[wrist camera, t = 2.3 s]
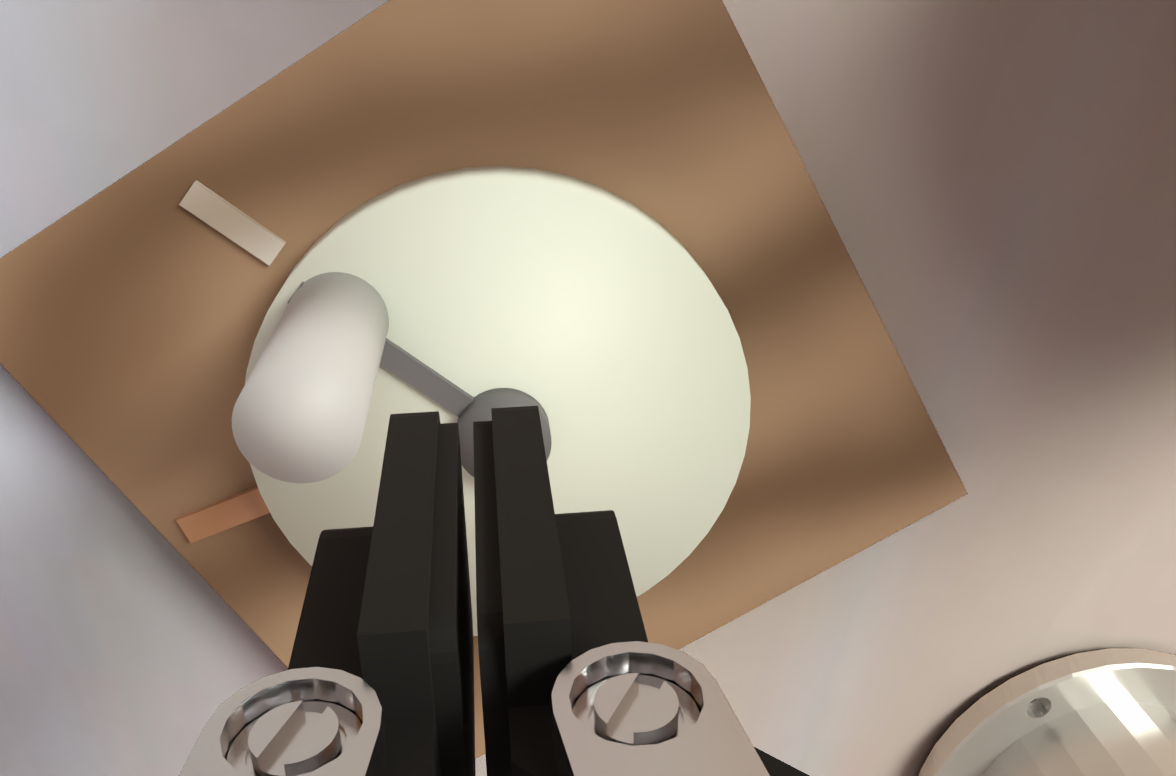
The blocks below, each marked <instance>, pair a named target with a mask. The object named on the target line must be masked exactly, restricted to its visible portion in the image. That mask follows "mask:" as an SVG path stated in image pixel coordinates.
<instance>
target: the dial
mask: <svg viewBox="0 0 1176 776" xmlns="http://www.w3.org/2000/svg"><path fill="white" fill-rule="evenodd" d="M750 405H751V395H750V386H749V377H748V368H747V364H746V360H745V357H744V353H743V349H742V345H741V341H740V338H739V336H738V333H737V331H736V328H735V326H734V324H733V321H732V319H731V316H730V314H729V312H728V310H727V308H726V306H725V305H724V303H723V301H722V300H721V298H720V296H719V295H718V293H717V291H716V290H715V288H714V287H713V285H712V283H711V282H710V280H709V279H708V277H707V276H706V274H705V273H704V271H703V270H702V268H701V267H700V266H699V264H698V263H697V262H696V261H695V259H694V258H693V257H692V256H691V255H690V253H689V252H688V251H687V250H686V248H685V247H684V246H683V245H682V243H681V242H680V241H679V240H678V239H676V238H675V237H674V236H673V235H672V234H671V233H670V232H669V231H668V230H667V229H666V228H665V227H664V226H662V225H661V224H660V223H659V222H658V221H657V220H656V219H654V218H653V217H651V216H650V215H648V214H647V213H646V212H644V211H643V210H641V209H640V208H638V207H637V206H636V205H634V204H633V203H631V202H630V201H628V200H626V199H624V198H622V197H620V196H618V195H616V194H614V193H612V192H610V191H608V190H606V189H604V188H602V187H600V186H597V185H594V184H591V183H589V182H586V181H583V180H580V179H577V178H575V177H572V176H569V175H564V174H559V173H554V172H550V171H545V170H540V169H535V168H522V167H509V166H490V167H471V168H463V169H457V170H452V171H447V172H441V173H436V174H431V175H428V176H425V177H422V178H419V179H416V180H413V181H410V182H407V183H404V184H401V185H399V186H396V187H394V188H392V189H390V190H388V191H386V192H384V193H382V194H380V195H378V196H376V197H374V198H372V199H370V200H368V201H367V202H365V203H364V204H362V205H361V206H359V207H358V208H356V209H355V210H353V211H352V212H350V213H349V214H347V215H346V216H344V217H343V218H341V219H340V220H339V221H338V222H337V223H335V224H334V225H333V226H332V227H331V228H330V229H329V230H328V231H326V232H325V233H324V234H323V235H322V236H321V237H320V238H319V239H317V240H316V241H315V243H314V244H313V245H312V246H311V247H310V249H309V250H308V251H307V252H306V253H305V254H304V256H303V257H302V258H301V259H300V260H299V262H298V263H297V264H296V265H295V267H294V268H293V270H292V272H291V273H290V275H289V276H288V278H287V280H286V281H285V283H284V284H283V286H282V288H281V289H280V291H279V292H278V294H277V296H276V298H275V299H274V301H273V303H272V304H271V306H270V308H269V310H268V311H267V314H266V316H265V318H264V320H263V323H262V325H261V327H260V330H259V332H258V334H257V337H256V339H255V341H254V345H253V349H252V352H251V356H250V360H249V364H248V367H247V371H246V379H245V386H244V388H243V389H242V391H241V393H240V395H239V397H238V399H237V401H236V403H235V406H234V409H233V413H232V431H233V436H234V439H235V442H236V444H237V446H238V448H239V450H240V451H241V453H242V454H243V456H244V457H245V458H246V459H247V460H248V462H249V463H250V466H251V469H252V472H253V475H254V477H255V480H256V483H257V486H258V489H259V492H260V494H261V496H262V498H263V500H264V502H265V504H266V506H267V508H268V510H269V511H270V513H271V515H272V517H273V519H274V521H275V522H276V523H277V525H278V526H279V528H280V529H281V531H282V532H283V533H284V535H285V536H286V538H287V539H288V541H289V542H290V543H291V545H292V546H293V547H294V548H295V549H296V550H297V551H298V552H299V553H300V554H301V555H302V557H303V558H304V559H305V560H306V561H307V562H308V563H309V564H310V565H311V566H312V565H313V560H314V556H315V552H316V548H317V543H318V539H319V536H320V534H321V531H323V530H327V529H342V528H357V527H371V526H373V525H374V519H375V512H376V505H377V499H378V492H379V485H380V479H381V472H382V465H383V459H384V452H385V445H386V439H387V432H388V425H389V419H390V414H401V413H418V412H435V411H439V415H440V424H443V423H458V426H459V438H460V452H461V466H462V480H463V494H464V508H465V522H466V535H467V549H468V563H469V577H470V591H471V605H472V620H473V636H478V631H477V604H476V550H475V497H474V443H473V422H477V421H492V413H491V408H505V407H522V406H538V408H539V415H540V421H541V428H542V434H543V441H544V447H545V454H546V460H547V467H548V473H549V480H550V486H551V493H552V499H553V506H554V512H555V514H563V513H577V512H592V511H607V510H613V511H614V513H615V516H616V518H617V522H618V526H619V530H620V534H621V538H622V542H623V546H624V550H625V554H626V557H627V561H628V565H629V569H630V573H631V577H632V581H633V585H634V589H635V592H636V596H637V597H638V596H640V595H641V594H643V593H645V592H646V591H647V590H649V589H650V588H651V587H653V586H654V585H656V584H657V583H658V582H660V581H661V580H662V579H664V578H665V577H666V576H668V575H669V574H670V573H671V572H672V571H673V570H674V569H675V568H676V567H677V566H678V565H680V564H681V563H682V562H683V561H684V560H685V559H686V558H687V557H688V556H689V555H690V554H691V553H692V552H693V550H694V549H695V548H696V547H697V546H698V544H699V543H700V542H701V541H702V540H703V538H704V537H705V536H706V535H707V534H708V532H709V531H710V529H711V528H712V526H713V524H714V523H715V521H716V520H717V518H718V517H719V515H720V514H721V512H722V511H723V509H724V507H725V505H726V503H727V501H728V498H729V496H730V494H731V492H732V490H733V488H734V486H735V484H736V481H737V478H738V475H739V472H740V469H741V466H742V462H743V459H744V456H745V451H746V445H747V440H748V434H749V428H750Z"/></svg>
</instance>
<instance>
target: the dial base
mask: <svg viewBox="0 0 1176 776" xmlns="http://www.w3.org/2000/svg"><path fill="white" fill-rule="evenodd" d="M490 166H509V167H522V168H535V169H540V170H545V171H550V172H554V173H559V174H564V175H569V176H572V177H575V178H577V179H580V180H583V181H586V182H589V183H591V184H594V185H597V186H600V187H602V188H604V189H606V190H608V191H610V192H612V193H614V194H616V195H618V196H620V197H622V198H624V199H626V200H628V201H630V202H631V203H633V204H634V205H636V206H637V207H638V208H640V209H641V210H643V211H644V212H646V213H647V214H648V215H650V216H651V217H653V218H654V219H656V220H657V221H658V222H659V223H660V224H661V225H662V226H664V227H665V228H666V229H667V230H668V231H669V232H670V233H671V234H672V235H673V236H674V237H675V238H676V239H678V240H679V241H680V242H681V243H682V245H683V246H684V247H685V248H686V250H687V251H688V252H689V253H690V255H691V256H692V257H693V258H694V259H695V261H696V262H697V263H698V264H699V266H700V267H701V268H702V270H703V271H704V273H705V274H706V276H707V277H708V279H709V280H710V282H711V283H712V285H713V287H714V288H715V290H716V291H717V293H718V295H719V296H720V298H721V300H722V301H723V303H724V305H725V306H726V308H727V310H728V312H729V314H730V316H731V319H732V321H733V324H734V326H735V328H736V331H737V333H738V336H739V338H740V341H741V345H742V349H743V353H744V357H745V360H746V364H747V368H748V377H749V386H750V395H751V405H750V428H749V434H748V440H747V445H746V451H745V456H744V459H743V462H742V466H741V469H740V472H739V475H738V478H737V481H736V484H735V486H734V488H733V490H732V492H731V494H730V496H729V498H728V501H727V503H726V505H725V507H724V509H723V511H722V512H721V514H720V515H719V517H718V518H717V520H716V521H715V523H714V524H713V526H712V528H711V529H710V531H709V532H708V534H707V535H706V536H705V537H704V538H703V540H702V541H701V542H700V543H699V544H698V546H697V547H696V548H695V549H694V550H693V552H692V553H691V554H690V555H689V556H688V557H687V558H686V559H685V560H684V561H683V562H682V563H681V564H680V565H678V566H677V567H676V568H675V569H674V570H673V571H672V572H671V573H670V574H669V575H668V576H666V577H665V578H664V579H662V580H661V581H660V582H658V583H657V584H656V585H654V586H653V587H651V588H650V589H649V590H647V591H646V592H645V593H643V594H641V595H640V596H638V597H637V600H638V604H639V608H640V612H641V616H642V620H643V624H644V628H645V631H646V635H647V639H648V643H656V644H662V645H665V646H668V647H671V648H674V649H677V650H678V649H680V648H682V647H684V646H686V645H688V644H689V643H691V642H693V641H695V640H697V639H699V638H701V637H702V636H704V635H706V634H708V633H710V632H712V631H714V630H715V629H717V628H719V627H721V626H723V625H725V624H727V623H728V622H730V621H732V620H734V619H736V618H738V617H740V616H741V615H743V614H745V613H747V612H749V611H751V610H753V609H754V608H756V607H758V606H760V605H762V604H764V603H766V602H767V601H769V600H771V599H773V598H775V597H777V596H779V595H780V594H782V593H784V592H786V591H788V590H790V589H792V588H793V587H795V586H797V585H799V584H801V583H803V582H805V581H806V580H808V579H810V578H812V577H814V576H816V575H818V574H819V573H821V572H823V571H825V570H827V569H829V568H831V567H832V566H834V565H836V564H838V563H840V562H842V561H844V560H845V559H847V558H849V557H851V556H853V555H855V554H857V553H858V552H860V551H862V550H864V549H866V548H868V547H870V546H871V545H873V544H875V543H877V542H879V541H881V540H883V539H884V538H886V537H888V536H890V535H892V534H894V533H896V532H897V531H899V530H901V529H903V528H905V527H907V526H909V525H910V524H912V523H914V522H916V521H918V520H920V519H922V518H923V517H925V516H927V515H929V514H931V513H933V512H935V511H936V510H938V509H940V508H942V507H944V506H946V505H948V504H949V503H951V502H953V501H955V500H957V499H959V498H961V497H962V496H964V495H966V494H968V493H967V491H966V489H965V487H964V485H963V483H962V481H961V479H960V477H959V475H958V473H957V471H956V469H955V467H954V465H953V463H952V461H951V459H950V457H949V455H948V453H947V451H946V449H945V447H944V445H943V443H942V441H941V439H940V437H939V435H938V433H937V431H936V429H935V427H934V425H933V423H932V421H931V419H930V417H929V415H928V413H927V411H926V409H925V407H924V405H923V403H922V401H921V399H920V397H919V395H918V393H917V391H916V389H915V387H914V385H913V383H912V381H911V379H910V377H909V375H908V373H907V371H906V369H905V367H904V365H903V363H902V361H901V359H900V357H899V355H898V353H897V351H896V349H895V347H894V345H893V343H892V341H891V339H890V337H889V335H888V333H887V330H886V328H885V326H884V324H883V322H882V320H881V318H880V316H879V314H878V312H877V310H876V308H875V306H874V304H873V302H872V300H871V298H870V296H869V294H868V292H867V290H866V288H865V286H864V284H863V282H862V280H861V278H860V276H859V274H858V272H857V270H856V268H855V266H854V264H853V262H852V260H851V258H850V256H849V254H848V252H847V250H846V248H845V246H844V244H843V242H842V240H841V238H840V236H839V234H838V232H837V230H836V228H835V226H834V224H833V222H832V220H831V218H830V216H829V214H828V212H827V210H826V208H825V206H824V204H823V202H822V200H821V198H820V196H819V194H818V192H817V190H816V188H815V186H814V184H813V182H812V180H811V178H810V176H809V174H808V172H807V170H806V168H805V166H804V164H803V162H802V160H801V158H800V156H799V154H798V152H797V150H796V148H795V146H794V144H793V142H792V140H791V138H790V136H789V134H788V132H787V130H786V128H785V126H784V124H783V122H782V120H781V118H780V116H779V114H778V112H777V110H776V108H775V106H774V104H773V102H772V100H771V98H770V96H769V94H768V92H767V90H766V88H765V86H764V84H763V82H762V80H761V78H760V76H759V74H758V72H757V70H756V68H755V66H754V64H753V62H752V60H751V57H750V55H749V53H748V51H747V49H746V47H745V45H744V43H743V41H742V39H741V37H740V35H739V33H738V31H737V29H736V27H735V25H734V23H733V21H732V19H731V17H730V15H729V13H728V11H727V9H726V7H725V5H724V3H723V1H722V0H390V1H388V2H387V3H385V4H384V5H382V6H380V7H379V8H377V9H376V10H374V11H373V12H371V13H370V14H368V15H367V16H365V17H364V18H362V19H361V20H359V21H358V22H356V23H355V24H353V25H352V26H350V27H349V28H347V29H346V30H344V31H343V32H341V33H340V34H338V35H337V36H335V37H334V38H332V39H331V40H329V41H328V42H326V43H325V44H323V45H322V46H320V47H319V48H317V49H316V50H314V51H313V52H311V53H310V54H308V55H307V56H305V57H304V58H302V59H301V60H299V61H297V62H296V63H294V64H293V65H291V66H290V67H288V68H287V69H285V70H284V71H282V72H281V73H279V74H278V75H276V76H275V77H273V78H272V79H270V80H269V81H267V82H266V83H264V84H263V85H261V86H260V87H258V88H257V89H255V90H254V91H252V92H251V93H249V94H248V95H246V96H245V97H243V98H242V99H240V100H239V101H237V102H236V103H234V104H233V105H231V106H230V107H228V108H227V109H225V110H224V111H222V112H221V113H219V114H218V115H216V116H214V117H213V118H211V119H210V120H208V121H207V122H205V123H204V124H202V125H201V126H199V127H198V128H196V129H195V130H193V131H192V132H190V133H189V134H187V135H186V136H184V137H183V138H181V139H180V140H178V141H177V142H175V143H174V144H172V145H171V146H169V147H168V148H166V149H165V150H163V151H162V152H160V153H159V154H157V155H156V156H154V157H153V158H151V159H150V160H148V161H147V162H145V163H144V164H142V165H141V166H139V167H138V168H136V169H135V170H133V171H131V172H130V173H128V174H127V175H125V176H124V177H122V178H121V179H119V180H118V181H116V182H115V183H113V184H112V185H110V186H109V187H107V188H106V189H104V190H103V191H101V192H100V193H98V194H97V195H95V196H94V197H92V198H91V199H89V200H88V201H86V202H85V203H83V204H82V205H80V206H79V207H77V208H76V209H74V210H73V211H71V212H70V213H68V214H67V215H65V216H64V217H62V218H61V219H59V220H58V221H56V222H55V223H53V224H52V225H50V226H49V227H47V228H45V229H44V230H42V231H41V232H39V233H38V234H36V235H35V236H33V237H32V238H30V239H29V240H27V241H26V242H24V243H23V244H21V245H20V246H18V247H17V248H15V249H14V250H12V251H11V252H9V253H8V254H6V255H5V256H3V257H2V258H0V364H1V365H2V366H3V367H4V368H5V369H6V370H7V371H8V372H9V373H10V374H11V375H12V376H13V377H14V378H15V379H16V380H17V382H18V383H19V384H20V385H21V386H22V387H23V388H24V389H25V390H26V391H27V392H28V393H29V394H30V395H31V396H32V397H33V398H34V399H35V401H36V402H37V403H38V404H39V405H40V406H41V407H42V408H43V409H44V410H45V411H46V412H47V413H48V414H49V415H50V416H51V417H52V419H53V420H54V421H55V422H56V423H57V424H58V425H59V426H60V427H61V428H62V429H63V430H64V431H65V432H66V433H67V434H68V435H69V437H70V438H71V439H72V440H73V441H74V442H75V443H76V444H77V445H78V446H79V447H80V448H81V449H82V450H83V451H84V452H85V453H86V455H87V456H88V457H89V458H90V459H91V460H92V461H93V462H94V463H95V464H96V465H97V466H98V467H99V468H100V469H101V470H102V471H103V473H104V474H105V475H106V476H107V477H108V478H109V479H110V480H111V481H112V482H113V483H114V484H115V485H116V486H117V487H118V488H119V489H120V491H121V492H122V493H123V494H124V495H125V496H126V497H127V498H128V499H129V500H130V501H131V502H132V503H133V504H134V505H135V506H136V507H137V508H138V510H139V511H140V512H141V513H142V514H143V515H144V516H145V517H146V518H147V519H148V520H149V521H150V522H151V523H152V524H153V525H154V526H155V528H156V529H157V530H158V531H159V532H160V533H161V534H162V535H163V536H164V537H165V538H166V539H167V540H168V541H169V542H170V543H171V544H172V546H173V547H174V548H175V549H176V550H177V551H178V552H179V553H180V554H181V555H182V556H183V557H184V558H185V559H186V560H187V561H188V562H189V564H190V565H191V566H192V567H193V568H194V569H195V570H196V571H197V572H198V573H199V574H200V575H201V576H202V577H203V578H204V579H205V580H206V582H207V583H208V584H209V585H210V586H211V587H212V588H213V589H214V590H215V591H216V592H217V593H218V594H219V595H220V596H221V597H222V598H223V599H224V601H225V602H226V603H227V604H228V605H229V606H230V607H231V608H232V609H233V610H234V611H235V612H236V613H237V614H238V615H239V616H240V617H241V619H242V620H243V621H244V622H245V623H246V624H247V625H248V626H249V627H250V628H251V629H252V630H253V631H254V632H255V633H256V634H257V635H258V637H259V638H260V639H261V640H262V641H263V642H264V643H265V644H266V645H267V646H268V647H269V648H270V649H271V650H272V651H273V652H274V653H275V655H276V656H277V657H278V658H279V659H280V660H281V661H282V662H283V663H284V664H285V665H286V666H287V667H288V666H289V662H290V658H291V654H292V649H293V645H294V641H295V637H296V632H297V628H298V624H299V620H300V616H301V611H302V607H303V603H304V599H305V594H306V590H307V586H308V582H309V577H310V573H311V569H312V566H311V565H310V564H309V563H308V562H307V561H306V560H305V559H304V558H303V557H302V555H301V554H300V553H299V552H298V551H297V550H296V549H295V548H294V547H293V546H292V545H291V543H290V542H289V541H288V539H287V538H286V536H285V535H284V533H283V532H282V531H281V529H280V528H279V526H278V525H277V523H276V522H275V521H274V519H273V517H272V515H271V513H270V511H269V510H268V508H267V506H266V504H265V502H264V500H263V498H262V496H261V494H260V492H259V489H258V486H257V483H256V480H255V477H254V475H253V472H252V469H251V466H250V463H249V462H248V460H247V459H246V458H245V457H244V456H243V454H242V453H241V451H240V450H239V448H238V446H237V444H236V442H235V439H234V436H233V431H232V413H233V409H234V406H235V403H236V401H237V399H238V397H239V395H240V393H241V391H242V389H243V388H244V386H245V379H246V371H247V367H248V364H249V360H250V356H251V352H252V349H253V345H254V341H255V339H256V337H257V334H258V332H259V330H260V327H261V325H262V323H263V320H264V318H265V316H266V314H267V311H268V310H269V308H270V306H271V304H272V303H273V301H274V299H275V298H276V296H277V294H278V292H279V291H280V289H281V288H282V286H283V284H284V283H285V281H286V280H287V278H288V276H289V275H290V273H291V272H292V270H293V268H294V267H295V265H296V264H297V263H298V262H299V260H300V259H301V258H302V257H303V256H304V254H305V253H306V252H307V251H308V250H309V249H310V247H311V246H312V245H313V244H314V243H315V241H316V240H317V239H319V238H320V237H321V236H322V235H323V234H324V233H325V232H326V231H328V230H329V229H330V228H331V227H332V226H333V225H334V224H335V223H337V222H338V221H339V220H340V219H341V218H343V217H344V216H346V215H347V214H349V213H350V212H352V211H353V210H355V209H356V208H358V207H359V206H361V205H362V204H364V203H365V202H367V201H368V200H370V199H372V198H374V197H376V196H378V195H380V194H382V193H384V192H386V191H388V190H390V189H392V188H394V187H396V186H399V185H401V184H404V183H407V182H410V181H413V180H416V179H419V178H422V177H425V176H428V175H431V174H436V173H441V172H447V171H452V170H457V169H463V168H471V167H490ZM473 642H474V710H475V759H476V758H478V757H480V756H481V755H483V754H485V753H486V752H485V737H484V723H483V709H482V694H481V680H480V666H479V650H478V636H473Z"/></svg>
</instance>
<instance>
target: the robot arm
mask: <svg viewBox="0 0 1176 776" xmlns="http://www.w3.org/2000/svg"><path fill="white" fill-rule="evenodd" d="M491 413H492V421H477V422H473V443H474V497H475V550H476V604H477V631H478V650H479V666H480V680H481V694H482V709H483V723H484V737H485V752H486V766H487V776H809V775H807V774H805V773H803V772H801V771H799V770H797V769H795V768H794V767H792V766H790V765H788V764H786V763H784V762H782V761H780V760H778V759H776V758H774V757H772V756H770V755H769V754H767V753H765V752H763V751H761V750H759V749H757V748H755V747H753V745H752V743H751V741H750V739H749V738H748V736H747V734H746V732H745V731H744V729H743V727H742V725H741V723H740V722H739V720H738V718H737V716H736V715H735V713H734V711H733V709H732V707H731V706H730V704H729V702H728V700H727V699H726V697H725V695H724V693H723V691H722V690H721V688H720V686H719V684H718V683H717V681H716V679H715V678H714V677H713V676H712V675H711V673H710V672H709V671H708V670H707V669H706V667H705V666H704V665H703V664H702V663H700V662H698V661H697V660H695V659H694V658H692V657H691V656H689V655H688V654H686V653H685V652H682V651H679V650H677V649H674V648H671V647H668V646H665V645H662V644H656V643H648V639H647V635H646V631H645V628H644V624H643V620H642V616H641V612H640V608H639V604H638V600H637V596H636V592H635V589H634V585H633V581H632V577H631V573H630V569H629V565H628V561H627V557H626V554H625V550H624V546H623V542H622V538H621V534H620V530H619V526H618V522H617V518H616V516H615V513H614V511H613V510H607V511H592V512H577V513H563V514H555V512H554V506H553V499H552V493H551V486H550V480H549V473H548V467H547V460H546V454H545V447H544V441H543V434H542V428H541V421H540V415H539V408H538V406H522V407H505V408H491ZM179 776H475V710H474V642H473V620H472V605H471V591H470V577H469V563H468V549H467V535H466V522H465V508H464V494H463V480H462V466H461V452H460V438H459V426H458V423H443V424H440V415H439V411H435V412H418V413H401V414H390V419H389V425H388V432H387V439H386V445H385V452H384V459H383V465H382V472H381V479H380V485H379V492H378V499H377V505H376V512H375V519H374V525H373V526H371V527H357V528H342V529H327V530H323V531H321V534H320V536H319V539H318V543H317V548H316V552H315V556H314V560H313V565H312V569H311V573H310V577H309V582H308V586H307V590H306V594H305V599H304V603H303V607H302V611H301V616H300V620H299V624H298V628H297V632H296V637H295V641H294V645H293V649H292V654H291V658H290V662H289V666H288V670H286V671H283V672H279V673H276V674H272V675H268V676H265V677H263V678H261V679H259V680H257V681H255V682H253V683H251V684H249V685H247V686H245V687H243V688H241V689H240V690H238V691H237V692H236V693H235V694H233V695H232V696H231V697H230V698H228V699H227V700H226V701H224V702H223V703H222V704H221V705H220V706H219V707H218V709H217V710H216V711H215V713H214V714H213V715H212V717H211V718H210V719H209V721H208V722H207V723H206V725H205V727H204V729H203V730H202V732H201V734H200V736H199V738H198V740H197V742H196V744H195V746H194V747H193V749H192V751H191V753H190V755H189V757H188V759H187V761H186V763H185V764H184V766H183V768H182V770H181V772H180V774H179ZM918 776H1176V656H1175V655H1173V654H1169V653H1164V652H1158V651H1153V650H1148V649H1137V648H1109V649H1102V650H1096V651H1089V652H1083V653H1076V654H1073V655H1070V656H1066V657H1063V658H1060V659H1057V660H1053V661H1050V662H1047V663H1043V664H1041V665H1039V666H1036V667H1034V668H1032V669H1030V670H1028V671H1026V672H1024V673H1021V674H1019V675H1017V676H1015V677H1013V678H1011V679H1009V680H1007V681H1006V682H1004V683H1003V684H1001V685H1000V686H998V687H997V688H995V689H993V690H992V691H990V692H989V693H987V694H986V695H984V696H983V697H981V698H980V699H979V700H978V701H976V702H975V703H974V704H973V705H972V706H971V707H970V708H968V709H967V710H966V711H965V712H964V713H963V714H962V715H960V716H959V717H958V718H957V719H956V720H955V721H954V722H953V724H952V725H951V726H950V727H949V728H948V730H947V731H946V732H945V733H944V734H943V736H942V737H941V738H940V739H939V740H938V741H937V743H936V744H935V745H934V747H933V749H932V750H931V752H930V754H929V756H928V757H927V759H926V761H925V763H924V764H923V766H922V768H921V770H920V772H919V775H918Z"/></svg>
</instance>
